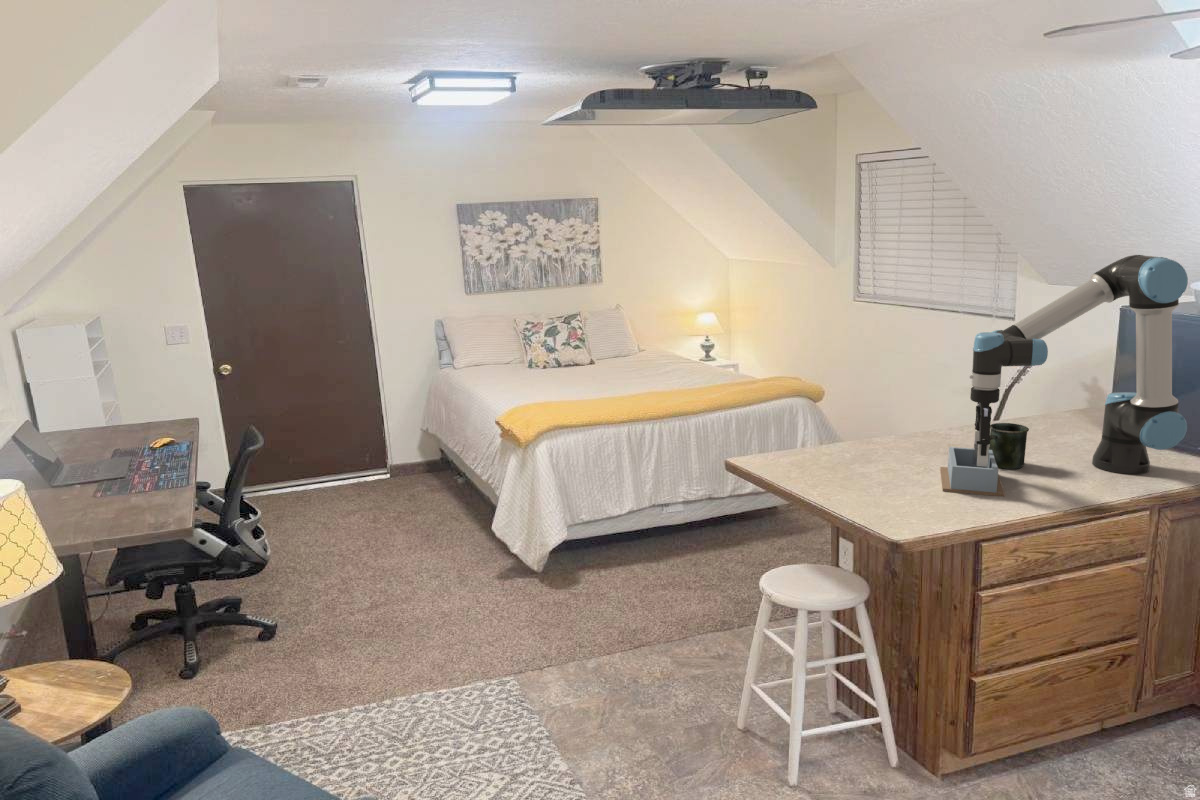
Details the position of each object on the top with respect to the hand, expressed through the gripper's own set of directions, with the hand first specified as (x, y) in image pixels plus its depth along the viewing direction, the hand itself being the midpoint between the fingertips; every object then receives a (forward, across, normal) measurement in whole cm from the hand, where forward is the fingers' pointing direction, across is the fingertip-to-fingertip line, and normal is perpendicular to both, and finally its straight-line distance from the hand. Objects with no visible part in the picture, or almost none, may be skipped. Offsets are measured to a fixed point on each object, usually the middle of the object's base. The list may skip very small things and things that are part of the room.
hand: (980, 459), depth 258 cm
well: (+7, 0, -2) cm, 7 cm away
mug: (+8, -20, +8) cm, 23 cm away
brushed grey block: (+6, 0, -2) cm, 7 cm away
